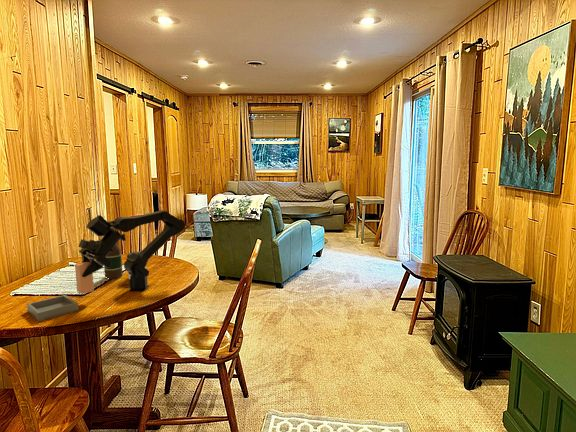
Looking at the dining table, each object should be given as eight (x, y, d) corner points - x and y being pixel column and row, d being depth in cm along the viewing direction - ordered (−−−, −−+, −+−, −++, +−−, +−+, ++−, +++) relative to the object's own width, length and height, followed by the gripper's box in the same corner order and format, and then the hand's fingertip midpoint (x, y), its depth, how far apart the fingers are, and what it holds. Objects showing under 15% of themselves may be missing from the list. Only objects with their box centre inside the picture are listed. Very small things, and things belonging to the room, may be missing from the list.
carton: (89, 288, 160) (87, 261, 158) (93, 290, 156) (91, 263, 155) (77, 291, 156) (74, 264, 155) (81, 293, 153) (79, 266, 151)
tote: (65, 302, 158) (65, 294, 157) (78, 310, 149) (77, 303, 148) (27, 311, 148) (26, 303, 148) (38, 321, 139) (37, 313, 139)
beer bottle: (126, 275, 193) (123, 226, 189) (114, 280, 185) (110, 229, 182) (113, 274, 195) (110, 226, 191) (101, 278, 188) (97, 228, 184)
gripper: (82, 228, 162) (54, 259, 156) (101, 234, 149) (72, 268, 143) (103, 244, 169) (77, 274, 163) (123, 251, 156) (96, 284, 150)
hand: (80, 275), depth 154 cm, fingers closed on carton, 5 cm apart
